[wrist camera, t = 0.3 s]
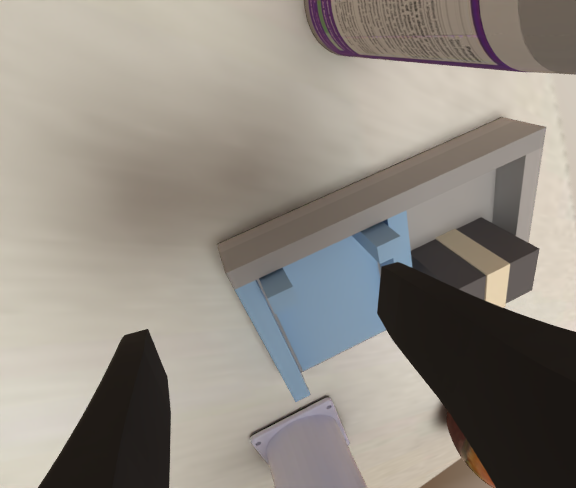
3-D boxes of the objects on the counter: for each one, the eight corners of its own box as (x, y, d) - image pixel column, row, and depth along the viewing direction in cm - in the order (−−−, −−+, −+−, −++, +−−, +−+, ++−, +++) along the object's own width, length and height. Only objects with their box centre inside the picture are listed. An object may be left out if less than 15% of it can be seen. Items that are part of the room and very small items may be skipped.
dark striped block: (479, 256, 26) (533, 292, 22) (412, 289, 26) (455, 331, 22) (481, 215, 24) (541, 248, 20) (407, 251, 23) (455, 291, 20)
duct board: (490, 266, 29) (538, 299, 25) (283, 369, 27) (303, 421, 23) (502, 117, 22) (572, 133, 18) (217, 244, 20) (230, 291, 16)
